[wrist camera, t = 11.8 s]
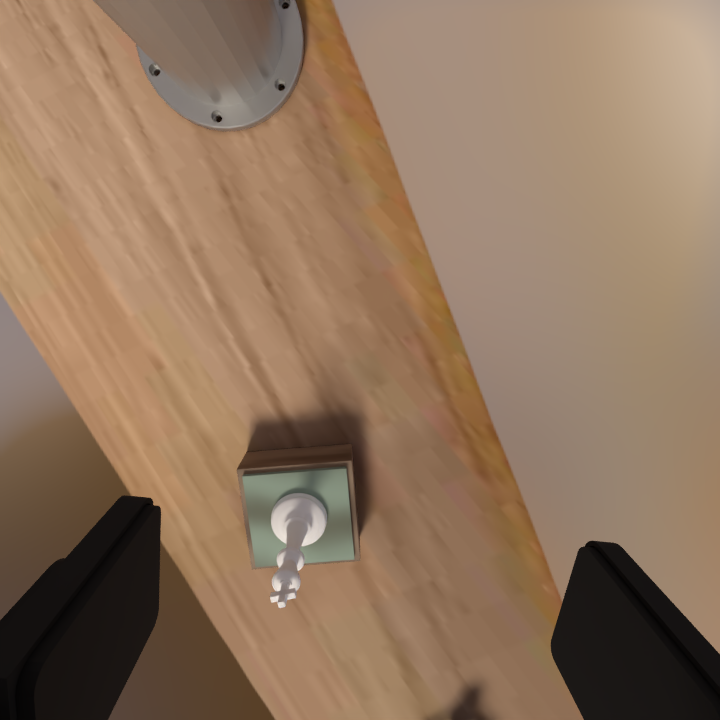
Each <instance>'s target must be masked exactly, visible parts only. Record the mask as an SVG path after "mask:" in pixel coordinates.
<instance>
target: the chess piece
mask: <svg viewBox="0 0 720 720" xmlns="http://www.w3.org/2000/svg"><path fill="white" fill-rule="evenodd" d="M326 524H327V513H326V510H325V508H324V506H323V504H322V503H321V502H320V501H319V500H318V499H316V498H315V497H313V496H311V495H308V494H305V493H293V494H289V495H287V496H284V497H283V498H281V499H280V500H279V501H278V502H277V503H276V504H275V506H274V508H273V510H272V514H271V526H272V529H273V532H274V533H275V535H276V536H277V537H278V538H279V539H280V540H281V541H282V542H284V543H286V548H284V549H282V550H281V551H280V552H279V553H278V555H277V564H278V567H279V569H278V570H277V571H276V573H275V574H274V576H273V578H272V586H273V588H274V589H275V591H276V592H271V595H270V599H271V602H272V603H273V602H278V606H279V608H282V607H286V602H287V600H288V599H293V598H296V595H297V592H296V591H297V590H298V589H299V587H300V576H299V573H298V571H299V570H300V569H301V568H302V567H303V565H304V563H305V557H304V554H303V553H302V552H301V551H300V548H301V546H307V545H310V544H312V543H314V542H315V541H317V540H318V539H319V538H320V537H321V536H322V534H323V532H324V530H325V527H326Z"/></svg>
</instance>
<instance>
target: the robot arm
mask: <svg viewBox="0 0 720 720" xmlns="http://www.w3.org/2000/svg"><path fill="white" fill-rule="evenodd" d="M93 1H94V2H95V3H96V4H97V5H98V6H99V7H100V8H101V9H102V10H103V11H104V12H105V13H106V14H107V15H108V16H109V17H110V18H111V19H112V20H113V21H114V22H115V23H116V24H117V25H118V26H119V27H120V28H121V29H122V30H123V31H124V32H125V33H126V34H127V35H128V36H129V37H130V38H131V39H132V40H133V41H134V42H135V43H136V47H137V51H138V55H139V58H140V62H141V65H142V67H143V69H144V71H145V74H146V76H147V78H148V80H149V81H150V83H151V84H152V86H153V87H154V89H155V90H156V92H157V93H158V95H159V96H160V97H161V98H162V99H163V100H164V101H165V102H166V103H167V104H168V105H169V106H170V107H171V108H172V109H173V110H175V111H176V112H177V113H178V114H179V115H181V116H182V117H184V118H186V119H187V120H189V121H191V122H192V123H194V124H197V125H199V126H202V127H205V128H207V129H212V130H218V131H240V130H244V129H248V128H252V127H254V126H256V125H258V124H260V123H262V122H264V121H266V120H268V119H269V118H270V117H271V116H273V115H274V114H275V113H276V112H278V111H279V110H280V108H281V107H282V106H283V105H284V104H285V102H286V101H287V100H288V99H289V97H290V95H291V93H292V92H293V90H294V88H295V86H296V84H297V81H298V78H299V75H300V72H301V69H302V62H303V55H304V34H303V29H302V23H301V18H300V14H299V11H298V7H297V4H296V1H295V0H93ZM284 6H288V8H287V9H283V7H284ZM158 72H160V74H159V75H158V76H157V73H158ZM280 86H284V87H285V89H284V90H283V91H279V87H280ZM219 117H222V121H220V122H219V123H218V122H217V119H218V118H219ZM160 528H161V509H160V507H159V506H154V505H153V501H152V499H151V498H146V497H136V496H121V497H120V498H119V499H118V500H117V501H116V502H115V503H114V505H113V506H112V507H111V508H110V509H109V510H108V511H107V512H106V514H105V515H104V516H103V517H102V518H101V519H100V520H99V521H98V523H97V524H96V525H95V526H94V527H93V528H92V529H91V530H90V531H89V533H88V534H87V535H86V536H85V537H84V538H83V539H82V541H81V542H80V543H79V544H78V545H77V546H76V547H75V548H74V549H73V551H72V552H71V553H70V554H69V555H68V556H67V557H66V558H65V559H64V558H63V559H60V560H57V561H56V562H54V563H53V564H52V565H51V566H50V567H49V568H48V569H47V570H46V571H45V572H44V573H43V574H42V576H41V577H40V578H39V579H38V580H37V581H36V582H35V583H34V585H33V586H32V587H31V588H30V589H29V590H28V591H27V592H26V593H25V594H24V595H23V596H22V597H21V598H20V600H19V601H18V602H17V603H16V604H15V605H14V606H13V607H12V608H11V609H10V610H9V612H8V613H7V614H6V615H5V616H4V617H3V618H2V619H1V620H0V720H108V718H109V716H110V714H111V712H112V710H113V708H114V706H115V704H116V702H117V700H118V698H119V696H120V694H121V692H122V690H123V688H124V686H125V684H126V682H127V680H128V678H129V676H130V674H131V672H132V670H133V668H134V666H135V664H136V662H137V660H138V658H139V656H140V654H141V652H142V650H143V648H144V646H145V644H146V642H147V640H148V638H149V636H150V634H151V632H152V630H153V628H154V626H155V623H156V619H157V616H158V610H159V572H160V571H159V570H160ZM551 652H552V656H553V659H554V661H555V663H556V665H557V667H558V669H559V671H560V673H561V675H562V677H563V679H564V681H565V683H566V685H567V687H568V689H569V691H570V693H571V695H572V697H573V699H574V701H575V703H576V705H577V707H578V709H579V711H580V713H581V715H582V717H583V719H584V720H720V654H719V653H718V652H717V651H716V650H715V649H714V647H712V645H711V644H710V643H709V642H708V641H707V640H706V639H705V638H704V637H703V635H701V633H700V632H699V631H698V630H697V629H696V628H695V627H694V626H693V625H692V623H691V622H690V621H689V620H688V619H687V618H686V617H685V616H684V615H683V614H682V613H681V612H680V610H679V609H678V608H677V607H676V606H675V605H674V604H673V603H672V602H671V601H670V599H669V598H668V597H667V596H666V595H665V594H664V593H663V592H662V591H661V590H660V589H659V587H658V586H657V585H656V584H655V583H654V582H653V581H652V580H651V579H650V578H649V577H648V575H646V573H644V571H643V570H642V569H641V568H640V567H639V566H638V565H637V563H636V562H635V561H634V560H633V559H632V558H631V557H630V556H629V555H628V554H627V553H626V551H625V550H624V549H623V548H622V547H621V546H620V545H618V544H616V543H610V542H599V541H589V542H588V543H586V545H585V547H581V548H580V549H579V551H578V553H577V557H576V560H575V563H574V567H573V570H572V573H571V576H570V580H569V583H568V586H567V590H566V593H565V596H564V599H563V603H562V606H561V609H560V613H559V616H558V619H557V623H556V626H555V629H554V633H553V636H552V639H551Z"/></svg>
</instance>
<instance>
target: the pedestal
mask: <svg viewBox="0 0 720 720" xmlns="http://www.w3.org/2000/svg"><path fill="white" fill-rule="evenodd" d="M237 474H238V481H239V487H240V494H241V501H242V507H243V514H244V521H245V527H246V534H247V541H248V547H249V554H250V560H251V567H252V569H263V568H276V567H278V564H277V555H278V553H279V552H280V551H281V550H282V549H284V548H286V543H284V542H282V541H281V540H280V539H279V538H278V537H277V536H276V535H275V533H274V532H273V529H272V526H271V514H272V510H273V508H274V506H275V504H276V503H277V502H278V501H279V500H280V499H281V498H283V497H284V496H287V495H289V494H293V493H305V494H308V495H311V496H313V497H315V498H316V499H318V500H319V501H320V502H321V503H322V504H323V506H324V508H325V510H326V513H327V524H326V527H325V530H324V532H323V534H322V536H321V537H320V538H319V539H318V540H317V541H315V542H314V543H312V544H310V545H307V546H301V548H300V551H301V552H302V553H303V554H304V557H305V563H304V565H314V564H327V563H340V562H352V561H360V535H359V523H358V511H357V500H356V488H355V477H354V465H353V453H352V444H342V445H329V446H316V447H303V448H291V449H278V450H265V451H252V452H246V454H245V456H244V458H243V459H242V461H241V463H240V465H239V467H238V468H237Z"/></svg>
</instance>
